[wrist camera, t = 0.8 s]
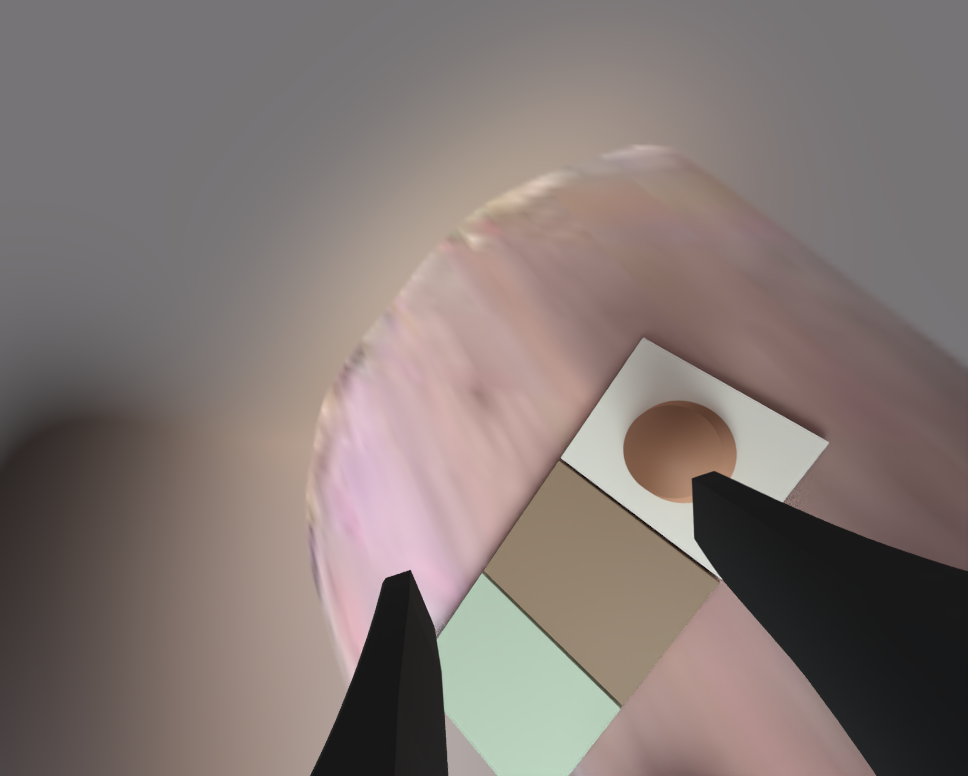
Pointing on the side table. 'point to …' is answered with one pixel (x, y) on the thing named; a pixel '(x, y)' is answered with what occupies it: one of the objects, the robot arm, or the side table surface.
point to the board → (596, 577)
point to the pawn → (677, 448)
